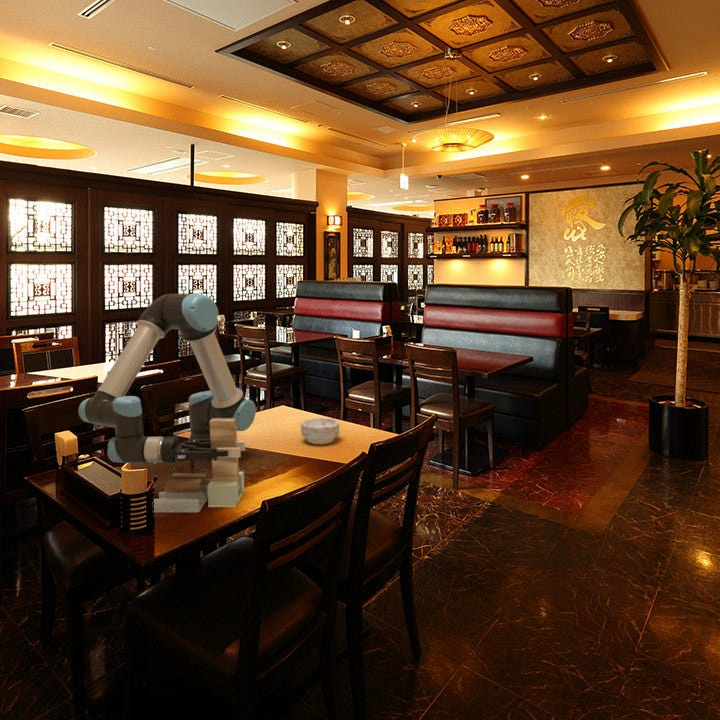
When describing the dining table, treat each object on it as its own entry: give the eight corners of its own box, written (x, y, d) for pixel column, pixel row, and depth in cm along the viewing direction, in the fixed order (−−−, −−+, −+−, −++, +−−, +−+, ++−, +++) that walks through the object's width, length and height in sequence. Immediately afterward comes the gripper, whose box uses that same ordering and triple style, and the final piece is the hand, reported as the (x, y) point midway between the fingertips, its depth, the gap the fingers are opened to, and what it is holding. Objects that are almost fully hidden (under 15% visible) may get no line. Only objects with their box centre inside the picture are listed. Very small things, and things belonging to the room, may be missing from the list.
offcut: (175, 492, 170) (173, 473, 169) (207, 492, 170) (206, 473, 169) (172, 495, 168) (170, 476, 167) (205, 495, 168) (204, 476, 167)
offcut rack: (174, 491, 174) (173, 476, 174) (216, 491, 174) (215, 476, 173) (153, 517, 157) (151, 500, 156) (199, 517, 157) (197, 500, 156)
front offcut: (169, 498, 166) (168, 479, 165) (203, 498, 165) (201, 479, 164) (166, 502, 163) (165, 482, 162) (200, 502, 163) (199, 482, 162)
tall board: (216, 495, 168) (212, 418, 164) (239, 495, 167) (236, 418, 163) (214, 499, 165) (209, 421, 161) (237, 499, 165) (233, 421, 160)
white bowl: (341, 435, 230) (341, 417, 228) (336, 447, 215) (336, 428, 214) (305, 435, 231) (304, 416, 230) (297, 446, 216) (297, 427, 215)
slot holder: (219, 493, 173) (218, 470, 171) (245, 493, 173) (244, 470, 171) (207, 511, 160) (206, 487, 159) (235, 511, 160) (234, 486, 159)
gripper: (175, 451, 173) (249, 451, 173) (152, 473, 155) (235, 472, 155) (173, 428, 172) (248, 427, 172) (150, 447, 154) (234, 446, 154)
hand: (242, 449), depth 163 cm, fingers open, 5 cm apart
